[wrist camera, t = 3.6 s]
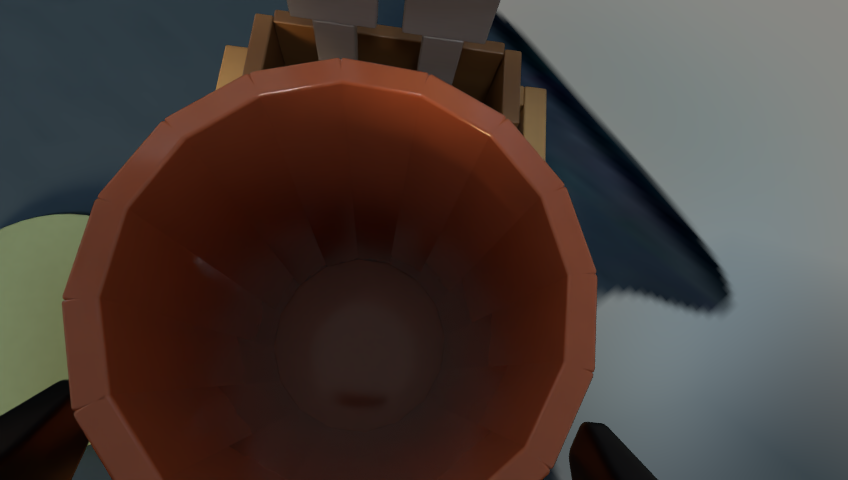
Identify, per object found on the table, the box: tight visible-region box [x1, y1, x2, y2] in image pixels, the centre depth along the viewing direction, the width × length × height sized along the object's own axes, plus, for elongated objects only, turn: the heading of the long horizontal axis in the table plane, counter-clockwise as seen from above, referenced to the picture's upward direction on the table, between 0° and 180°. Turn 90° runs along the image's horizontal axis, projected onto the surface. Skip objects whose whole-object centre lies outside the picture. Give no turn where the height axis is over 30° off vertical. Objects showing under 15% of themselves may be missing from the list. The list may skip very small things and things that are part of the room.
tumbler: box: [62, 58, 597, 480], centre depth 12 cm, size 7×7×12 cm
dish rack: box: [216, 0, 546, 161], centre depth 13 cm, size 14×11×12 cm
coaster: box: [0, 214, 90, 446], centre depth 17 cm, size 8×8×1 cm
